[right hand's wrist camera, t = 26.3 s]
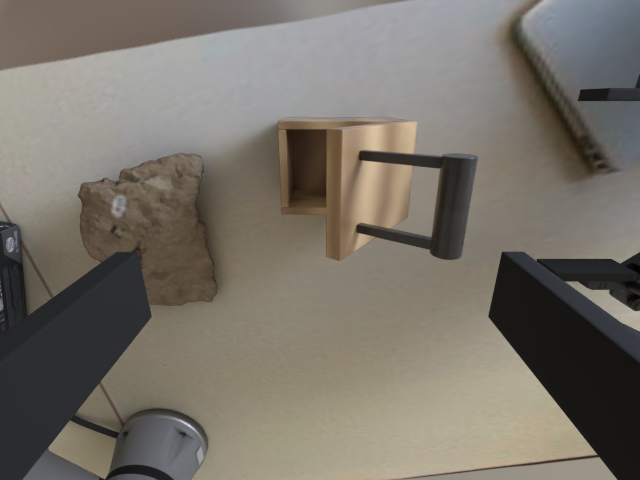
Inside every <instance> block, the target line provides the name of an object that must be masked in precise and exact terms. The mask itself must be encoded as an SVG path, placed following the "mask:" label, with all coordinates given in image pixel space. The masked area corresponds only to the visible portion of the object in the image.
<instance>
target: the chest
mask: <svg viewBox="0 0 640 480" xmlns="http://www.w3.org/2000/svg"><path fill="white" fill-rule="evenodd" d="M402 121H406V120H401V119H395V118H285V119H283V120H280V121H278V129H279V130H278V141H279V164H280V186H281V207H282V214H326V164H327V129H329V128H339V127H350V126H360V125H370V124H381V123H391V122H402Z"/></svg>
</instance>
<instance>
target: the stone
mask: <svg viewBox="0 0 640 480" xmlns="http://www.w3.org/2000/svg"><path fill="white" fill-rule="evenodd" d="M203 171H204V166H203V160H202V157H201V156H198V155H195V154H184V153H181V154H176V155H171V156H167V157H163V158H160V159H158V160H156V161H148V162H146V163H142V164H141V165H139V166H137V167H134V168H131V169H123V170H122V171H121V172H120V177H119V179H120V180H119V181H117V182H114V181H111V180H109V179H108V178H104V179H103V180H101V181H97V182H89V183H83V184H81V188H80V191H79V194H78V197H79V198H80V199H81V201H82V204H83V205H82V213H81V215H80V218H81V221H80V231H81V236H82V240H83V244H84V246H85V248H86V250H87V251H88V253H89V255H90V256H91V257H92V258H94V259H96V260H99V261H100V262H101V263H102V262H103V261H105V260H106V259H107V258H109V257H110V256H111V255H113V254H114V253H116V252H138V255H139V260H140V264H141V269H142V274H143V278H144V283H145V288H146V292H147V297H148V302H149V304H158V305H167V306H171V305H183V304H185V303H186V302H195V301H206V302H212V299H213V297H214V296H215V295H216V293H217V285H216V281H215V279H214V277H213V274H214V263H213V260H212V258H211V257H210V253H209V251H208V249H207V247H206V242H207V240H206V229H207V228H206V224H205V222H202V221H199V213H198V210H197V208H196V205H195V203H196V198H197V196H198V194H199V190H200V185H199V184H200V183H201V181H202V179H203V178H202V173H203Z"/></svg>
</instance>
